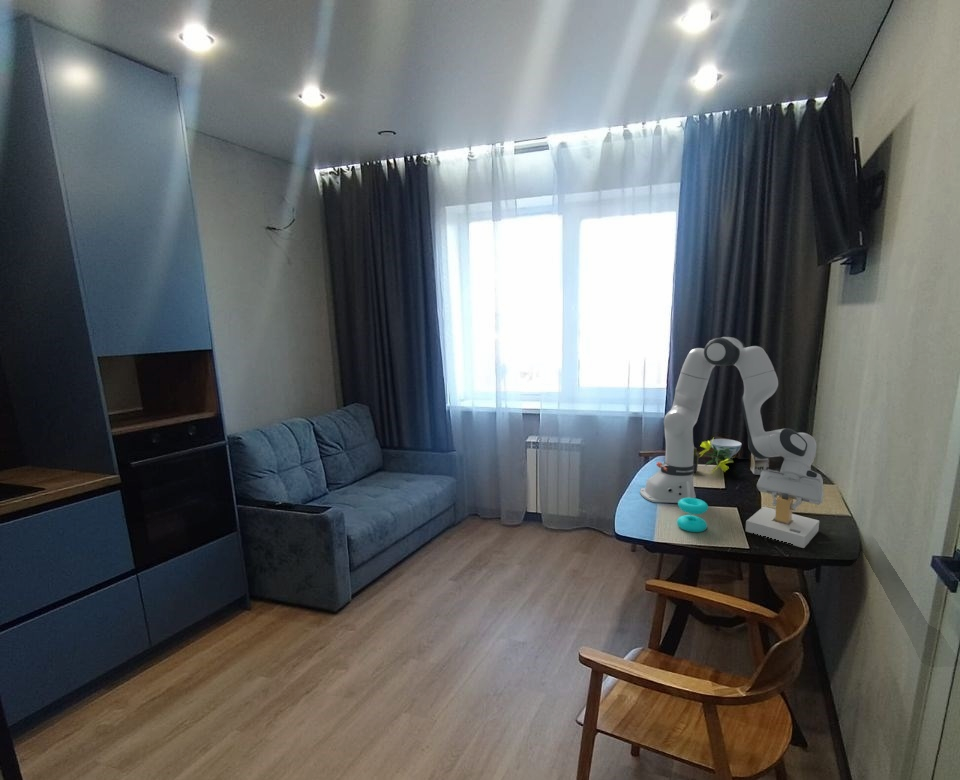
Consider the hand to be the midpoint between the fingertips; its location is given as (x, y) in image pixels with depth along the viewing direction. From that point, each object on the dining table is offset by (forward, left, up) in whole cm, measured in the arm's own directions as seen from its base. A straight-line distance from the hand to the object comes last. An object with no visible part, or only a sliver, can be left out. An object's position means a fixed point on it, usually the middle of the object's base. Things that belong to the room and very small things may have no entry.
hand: (783, 507), depth 172 cm
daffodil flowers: (+15, +71, -9) cm, 74 cm away
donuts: (-30, +6, -9) cm, 32 cm away
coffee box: (+31, +62, -9) cm, 71 cm away
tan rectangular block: (0, 0, -5) cm, 5 cm away
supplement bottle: (-1, +67, -9) cm, 68 cm away
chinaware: (+30, +90, -9) cm, 95 cm away
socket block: (0, 0, -9) cm, 9 cm away
